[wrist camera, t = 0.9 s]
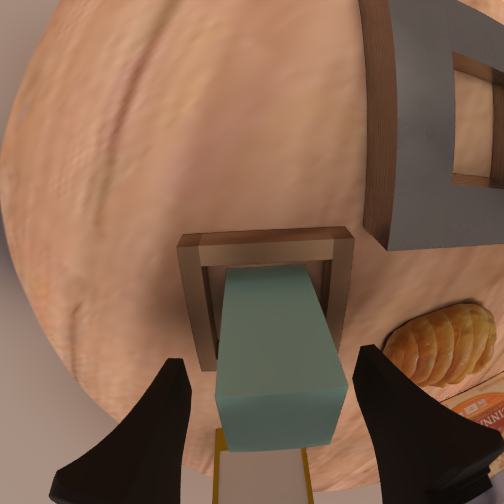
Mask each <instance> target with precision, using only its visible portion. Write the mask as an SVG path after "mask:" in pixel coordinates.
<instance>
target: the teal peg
mask: <svg viewBox="0 0 504 504" xmlns="http://www.w3.org/2000/svg"><path fill="white" fill-rule="evenodd" d="M347 390H348V383H347V380H346V377H345V374H344V371H343V368H342V365H341V362H340V359H339V356H338V353H337V351H336V348H335V345H334V342H333V339H332V336H331V334H330V331H329V328H328V325H327V322H326V320H325V317H324V314H323V312H322V309H321V306H320V303H319V301H318V298H317V295H316V293H315V290H314V287H313V285H312V282H311V280H310V277H309V274H308V272H307V269H306V267H305V264H301V265H284V266H266V267H248V268H228V269H227V270H226V279H225V289H224V299H223V309H222V320H221V331H220V342H219V353H218V364H217V376H216V389H215V400H216V404H217V408H218V412H219V416H220V420H221V424H222V428H223V432H224V436H225V439H226V443H227V447H228V451H229V452H261V451H277V450H288V449H298V448H307V447H314V446H321V445H328V444H330V442H331V439H332V436H333V434H334V431H335V428H336V425H337V422H338V419H339V416H340V413H341V410H342V406H343V403H344V400H345V397H346V393H347Z"/></svg>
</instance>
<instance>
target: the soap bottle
mask: <svg viewBox="0 0 504 504" xmlns="http://www.w3.org/2000/svg"><path fill="white" fill-rule="evenodd" d="M212 504H314V501H313V493H312V487H311V480H310V473H309V467H308V460H307V453H306V448H298V449H288V450H277V451H261V452H229V451H228V447H227V443H226V439H225V436H224V432H223V429H216V441H215V459H214V477H213V499H212Z"/></svg>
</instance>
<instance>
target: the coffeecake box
mask: <svg viewBox="0 0 504 504" xmlns="http://www.w3.org/2000/svg"><path fill="white" fill-rule="evenodd" d="M440 403H441V404H442V405H444V406H445V407H447V408H449V409H450V410H452V411H454V412H456V413H458V414H459V415H461V416H463V417H465V418H467V419H469V420H472V421H474V422H476V423H479V424H481V425H484V426H487V427H490V428H493V429H496V430H499V431H500V433H501V435H502V437H503V438H504V372H502V373H500V374H499V375H497V376H495V377H493V378H491V379H489V380H487V381H486V382H484V383H482V384H480V385H478V386H476V387H474V388H472V389H470V390H468V391H466V392H463V393H461V394H459V395H457V396H454V397H452V398H450V399H447V400H445V401H443V402H440ZM489 467H490V469H491V472H490V473H489V474H488V476H489V478H491V477H492V476H494V475H495V474H497V473H498V472H500V471H501V470H503V469H504V452H503V453H502V454H501V455H500V456H499V457H498V458H497V459H496V460H494V461H493V462H492V463H491V464H490V465H489Z"/></svg>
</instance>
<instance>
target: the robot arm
mask: <svg viewBox="0 0 504 504" xmlns="http://www.w3.org/2000/svg"><path fill="white" fill-rule="evenodd" d="M352 380H353V384H354V389H355V393H356V397H357V401H358V403H359V406H360V409H361V412H362V414H363V417H364V420H365V423H366V425H367V428H368V431H369V434H370V436H371V439H372V443H373V446H374V450H375V455H376V459H377V464H378V470H379V476H380V483H381V491H382V501H383V504H504V469H503V470H501V471H500V472H498V473H497V474H495V475H494V476H492V477H491V478H489V476H488V474H489V473H490V472H491V469H490V467H489V465H490V464H491V463H492V462H493V461H494V460H496V459H497V458H498V457H499V456H500V455H501V454H502V453H503V452H504V438H503V437H502V435H501V433H500V431H499V430H496V429H493V428H490V427H487V426H484V425H481V424H479V423H476V422H474V421H472V420H469V419H467V418H465V417H463V416H461V415H459V414H458V413H456V412H454V411H452V410H450V409H449V408H447V407H445V406H444V405H442V404H441V403H439V402H438V401H437V400H435V399H434V398H432V397H431V396H429V395H428V394H427V393H426V392H424V391H423V390H422V389H421V388H419V387H418V386H417V385H416V384H415V383H413V382H412V381H411V380H410V379H409V378H408V377H407V376H406V375H405V374H404V373H403V372H402V371H400V370H399V369H398V368H397V367H396V366H395V365H394V364H393V363H392V362H391V361H390V360H389V359H388V358H387V357H386V356H385V355H384V354H383V353H382V352H381V351H380V350H379V349H378V348H377V347H376V346H375V345H374V344H372V345H366V346H361V347H360V351H359V355H358V359H357V363H356V366H355V370H354V374H353V377H352ZM191 396H192V389H191V385H190V382H189V379H188V375H187V372H186V368H185V365H184V361H183V359H182V358H168V359H167V360H166V361H165V363H164V365H163V366H162V368H161V369H160V371H159V373H158V374H157V376H156V377H155V379H154V380H153V382H152V383H151V385H150V386H149V388H148V389H147V390H146V392H145V393H144V395H143V396H142V397H141V399H140V400H139V401H138V403H137V404H136V405H135V406H134V408H133V409H132V410H131V411H130V413H129V414H128V415H127V416H126V417H125V418H124V419H123V420H122V422H121V423H120V424H119V425H118V426H117V427H116V428H115V429H114V430H113V431H112V432H111V433H110V434H109V435H107V436H106V437H105V438H104V439H103V440H102V441H101V442H100V443H98V444H97V445H96V446H95V447H93V448H92V449H91V450H89V451H88V452H87V453H85V454H84V455H83V456H81V457H80V458H78V459H77V460H75V461H73V462H72V463H70V464H68V465H67V466H65V467H63V468H61V469H60V470H58V471H57V472H56V474H55V477H54V479H53V483H52V486H51V490H50V493H49V498H50V499H51V500H52V501H54V502H55V503H57V504H180V487H181V486H180V484H181V463H182V455H183V450H184V444H185V439H186V433H187V428H188V422H189V417H190V411H191Z"/></svg>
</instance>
